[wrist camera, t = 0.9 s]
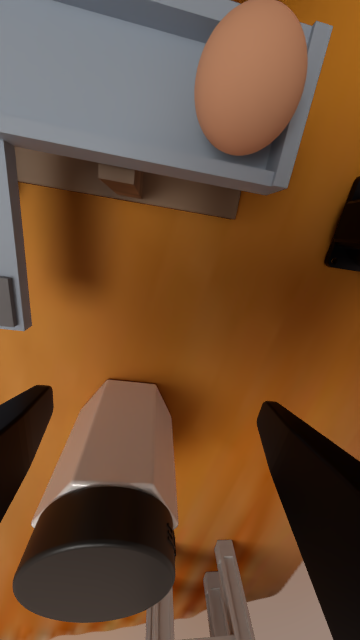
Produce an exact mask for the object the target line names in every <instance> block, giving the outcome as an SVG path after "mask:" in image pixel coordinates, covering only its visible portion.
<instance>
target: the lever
mask: <svg viewBox="0 0 360 640" xmlns="http://www.w3.org/2000/svg"><path fill="white" fill-rule="evenodd" d="M238 5H240V3H237V2H233V1H230V0H0V329H9V330H20V331H25V330H26V329H28V328H29V327H31V326H32V322H31V311H30V301H29V291H28V280H27V270H26V260H25V250H24V239H23V229H22V219H21V209H20V198H19V188H18V178H17V168H16V157H15V147H20V148H25V149H30V150H35V151H41V152H46V153H51V154H56V155H61V156H66V157H71V158H77V159H82V160H87V161H92V162H97V163H102V164H107V165H113V166H118V167H123V168H128V169H133V170H138V171H143V172H149V173H154V174H159V175H164V176H169V177H174V178H179V179H184V180H190V181H195V182H200V183H205V184H210V185H215V186H220V187H226V188H231V189H236V190H241V191H246V192H251V193H256V194H262V195H269V194H272V193H275V192H278V191H281V190H284V189H287V188H288V184H289V180H290V177H291V173H292V170H293V166H294V163H295V159H296V156H297V152H298V149H299V145H300V142H301V138H302V134H303V131H304V127H305V124H306V120H307V117H308V113H309V110H310V106H311V103H312V99H313V95H314V92H315V88H316V85H317V81H318V78H319V74H320V71H321V67H322V64H323V60H324V57H325V53H326V49H327V46H328V42H329V39H330V35H331V32H332V28H333V26H331V25H328V24H325V23H322V22H318V21H316V22H315V23H314V24H313V26H310V25H307V24H304V23H300V24H301V26H302V29H303V32H304V35H305V39H306V45H307V56H308V66H307V76H306V81H305V86H304V90H303V93H302V97H301V99H300V102H299V104H298V107H297V109H296V111H295V113H294V115H293V117H292V119H291V120H290V122H289V123H288V125H287V126H286V127H285V129H284V130H283V131H282V133H281V134H280V135H279V136H278V137H277V138H276V139H275V140H274V141H273V142H271V143H270V144H269V145H267V146H266V147H265V148H263V149H261V150H259V151H257V152H255V153H252V154H248V155H243V156H235V155H229V154H226V153H224V152H222V151H220V150H218V149H217V148H215V147H214V146H213V145H212V144H211V143H210V142H209V140H208V139H207V138H206V136H205V135H204V133H203V131H202V129H201V127H200V124H199V121H198V119H197V114H196V109H195V100H194V88H195V78H196V72H197V67H198V64H199V60H200V57H201V54H202V51H203V49H204V47H205V44H206V42H207V41H208V39H209V37H210V35H211V33H212V32H213V30H214V29H215V27H216V26H217V24H218V23H219V22H220V21H221V20H222V19H223V18H224V17H225V16H226V15H227V13H229V12H230V11H231V10H232V9H234V8H235V7H237V6H238ZM14 146H15V147H14Z"/></svg>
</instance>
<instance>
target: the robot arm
mask: <svg viewBox="0 0 360 640" xmlns="http://www.w3.org/2000/svg"><path fill="white" fill-rule="evenodd" d="M333 258H334V261H333V262H332V263H331V261H332V259H333ZM325 264H326V266H328V267H333V268H340V269H346V270H353V271H359V272H360V176H359V177H358V178H357V179H356V180H355V182H354V184H353V187H352V190H351V192H350V195H349V198H348V200H347V203H346V205H345V208H344V211H343V213H342V216H341V219H340V221H339V224H338V227H337V229H336V232H335V235H334V237H333V240H332V243H331V246H330V248H329V251H328V254H327V256H326V259H325ZM52 413H53V391H52V387H51V386H47V385H36V386H34V387H32V388H30V389H28V390H26V391H25V392H23V393H21V394H19V395H17V396H15V397H14V398H12V399H10V400H8V401H6V402H5V403H3V404H1V405H0V522H1V521H2V519H3V517H4V515H5V513H6V511H7V509H8V507H9V506H10V504H11V502H12V500H13V498H14V496H15V494H16V493H17V491H18V489H19V487H20V485H21V483H22V481H23V479H24V478H25V476H26V474H27V472H28V470H29V468H30V466H31V463H32V461H33V459H34V457H35V454H36V452H37V449H38V447H39V445H40V442H41V440H42V437H43V435H44V433H45V430H46V428H47V425H48V423H49V421H50V418H51V416H52ZM257 427H258V431H259V434H260V438H261V441H262V445H263V449H264V452H265V456H266V459H267V463H268V466H269V470H270V473H271V476H272V478H273V481H274V484H275V487H276V489H277V492H278V494H279V497H280V500H281V502H282V505H283V508H284V510H285V513H286V516H287V518H288V521H289V524H290V526H291V529H292V531H293V534H294V537H295V539H296V542H297V545H298V547H299V550H300V553H301V555H302V558H303V561H304V563H305V566H306V568H307V571H308V574H309V576H310V579H311V582H312V584H313V587H314V590H315V592H316V595H317V598H318V600H319V603H320V605H321V608H322V611H323V613H324V616H325V619H326V621H327V624H328V627H329V629H330V632H331V635H332V637H333V640H360V461H358V460H357V459H355V458H354V457H353V456H351V455H350V454H348V453H347V452H346V451H344V450H343V449H341V448H340V447H339V446H337V445H336V444H334V443H333V442H332V441H330V440H329V439H328V438H326V437H325V436H323V435H322V434H321V433H319V432H318V431H316V430H315V429H314V428H312V427H311V426H309V425H308V424H307V423H305V422H304V421H302V420H301V419H300V418H298V417H297V416H296V415H294V414H293V413H291V412H290V411H289V410H287V409H286V408H284V407H283V406H282V405H280V404H279V403H277V402H273V401H265V402H264V403H263V404H262V407H261V410H260V412H259V415H258V418H257Z"/></svg>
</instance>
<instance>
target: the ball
mask: <svg viewBox="0 0 360 640" xmlns="http://www.w3.org/2000/svg"><path fill="white" fill-rule="evenodd" d="M307 66H308V56H307V45H306V39H305V35H304V32H303V29H302V26H301V24H300V22H299V20H298V19H297V17H296V16H295V14H294V13H293V12H292V10H291V9H289V8H288V7H287V6H286V5H285V4H283V3H282V2H280V1H277V0H248V1H246V2H244V3H242V4H240V5H238V6H237V7H235V8H234V9H232V10H231V11H230V12H229V13H227V15H226V16H225V17H224V18H223V19H222V20H221V21H220V22H219V23H218V24H217V26H216V27H215V29H214V30H213V32H212V33H211V35H210V37H209V39H208V41H207V42H206V44H205V47H204V49H203V51H202V54H201V57H200V60H199V64H198V67H197V72H196V78H195V88H194V100H195V109H196V114H197V119H198V121H199V124H200V127H201V129H202V131H203V133H204V135H205V136H206V138H207V139H208V140H209V142H210V143H211V144H212V145H213V146H214V147H215V148H217V149H218V150H220V151H222V152H224V153H226V154H229V155H235V156H243V155H248V154H252V153H255V152H257V151H259V150H261V149H263V148H265V147H266V146H267V145H269V144H270V143H271V142H273V141H274V140H275V139H276V138H277V137H278V136H279V135H280V134H281V133H282V131H283V130H284V129H285V127H286V126H287V125H288V123H289V122H290V120H291V119H292V117H293V115H294V113H295V111H296V109H297V107H298V104H299V102H300V99H301V97H302V93H303V90H304V86H305V81H306V76H307Z"/></svg>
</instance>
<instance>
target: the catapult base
mask: <svg viewBox="0 0 360 640" xmlns="http://www.w3.org/2000/svg"><path fill="white" fill-rule="evenodd" d="M14 147H15V146H14ZM15 157H16V168H17V178H18V182H23V183H29V184H34V185H40V186H46V187H51V188H57V189H63V190H69V191H74V192H80V193H86V194H91V195H97V196H103V197H108V198H114V199H120V200H126V201H131V202H137V203H143V204H148V205H154V206H160V207H165V208H171V209H177V210H183V211H188V212H194V213H200V214H205V215H211V216H217V217H222V218H228V219H235V217H236V212H237V208H238V203H239V199H240V194H241V190H236V189H231V188H226V187H220V186H215V185H210V184H205V183H200V182H195V181H190V180H184V179H179V178H174V177H169V176H164V175H159V174H154V173H149V172H143V171H138V170H133V169H128V168H123V167H118V166H113V165H107V164H102V163H97V162H92V161H87V160H82V159H77V158H71V157H66V156H61V155H56V154H51V153H46V152H41V151H35V150H30V149H25V148H20V147H15Z"/></svg>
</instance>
